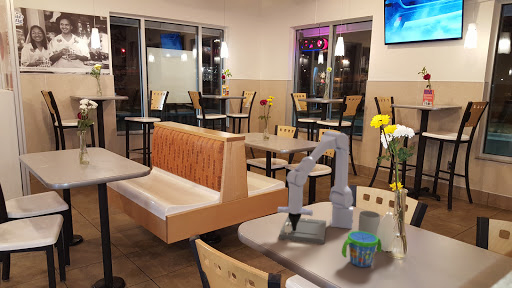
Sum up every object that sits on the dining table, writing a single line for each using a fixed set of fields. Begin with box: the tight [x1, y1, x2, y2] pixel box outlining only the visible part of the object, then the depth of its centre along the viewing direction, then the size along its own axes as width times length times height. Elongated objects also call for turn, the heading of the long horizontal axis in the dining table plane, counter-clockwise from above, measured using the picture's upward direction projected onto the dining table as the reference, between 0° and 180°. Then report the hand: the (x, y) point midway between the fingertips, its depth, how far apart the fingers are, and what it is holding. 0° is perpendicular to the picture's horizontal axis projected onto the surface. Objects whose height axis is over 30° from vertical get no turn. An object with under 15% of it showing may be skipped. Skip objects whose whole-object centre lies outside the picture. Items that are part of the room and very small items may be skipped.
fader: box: [285, 222, 292, 233], centre depth 151 cm, size 2×4×3 cm, turn 166°
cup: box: [357, 210, 381, 236], centre depth 152 cm, size 8×8×10 cm
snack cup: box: [341, 230, 383, 268], centre depth 129 cm, size 16×10×10 cm
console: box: [279, 216, 327, 245], centre depth 157 cm, size 18×21×2 cm
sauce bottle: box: [377, 206, 396, 252], centre depth 139 cm, size 8×8×18 cm
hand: (294, 230), depth 151 cm, fingers closed
